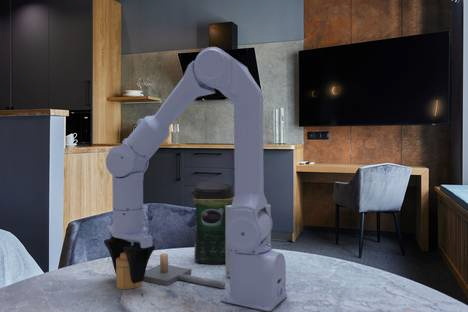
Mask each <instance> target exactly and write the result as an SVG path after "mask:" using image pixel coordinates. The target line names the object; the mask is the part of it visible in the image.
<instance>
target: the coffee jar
mask: <svg viewBox="0 0 468 312" xmlns="http://www.w3.org/2000/svg"><path fill="white" fill-rule="evenodd" d="M193 190H194V192H193V200H192V201H193V204H194V207H195V212H196V213H195V214H196V215H195V216H196V218H195V220H196V221H195V223H196V224H195V225H196V227H195V238H194V252H193V253H194V255H193V256H194V260H195V261H196V262H197V263H203V264H214V265H215V264H217V265H218V264H226V234H225V231H226V223H225V206H228V205H232V202H233V199H234V196H235V191H234V187H233V183H232V182H228V181H206V182H205V181H203V182H198V183H196V184H195V186H194V188H193Z"/></svg>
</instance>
